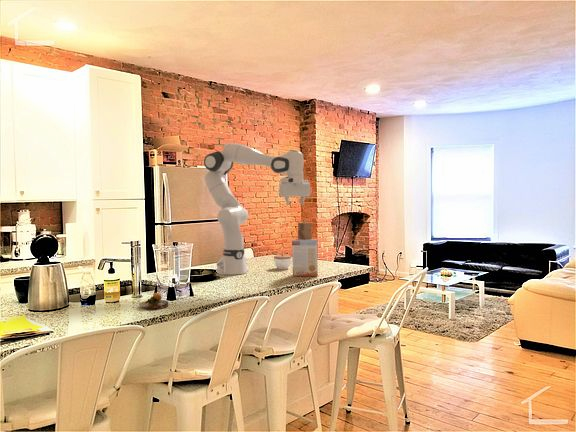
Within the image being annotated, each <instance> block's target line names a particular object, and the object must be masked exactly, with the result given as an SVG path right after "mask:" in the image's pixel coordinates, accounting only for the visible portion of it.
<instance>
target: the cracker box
mask: <svg viewBox="0 0 576 432" xmlns="http://www.w3.org/2000/svg"><path fill="white" fill-rule="evenodd" d="M291 243H292V249H291V251H292V255H291V262H292V277H318V275H319V274H318V271H319V270H318V264H319V263H318V238H312V239H298V238H293V239H292V240H291Z"/></svg>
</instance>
